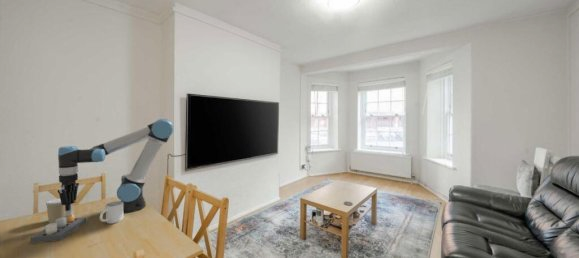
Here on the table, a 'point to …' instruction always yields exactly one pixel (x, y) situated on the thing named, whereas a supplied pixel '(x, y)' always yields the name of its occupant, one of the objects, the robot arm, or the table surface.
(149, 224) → the table surface
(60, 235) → the panel
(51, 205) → the coffee cup
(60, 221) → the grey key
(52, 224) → the white rounded block
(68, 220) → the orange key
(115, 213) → the mug
